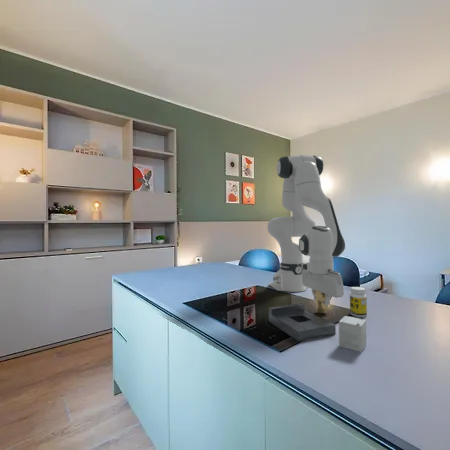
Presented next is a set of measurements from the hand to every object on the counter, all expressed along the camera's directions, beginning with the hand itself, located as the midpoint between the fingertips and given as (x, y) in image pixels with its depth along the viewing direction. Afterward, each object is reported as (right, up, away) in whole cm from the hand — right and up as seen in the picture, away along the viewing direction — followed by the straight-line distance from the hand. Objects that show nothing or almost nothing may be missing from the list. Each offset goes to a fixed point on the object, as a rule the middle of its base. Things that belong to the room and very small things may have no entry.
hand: (321, 302), depth 105 cm
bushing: (0, -3, 0) cm, 3 cm away
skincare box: (-1, -5, -27) cm, 28 cm away
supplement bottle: (+13, -4, -2) cm, 14 cm away
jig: (-12, -5, -14) cm, 19 cm away
